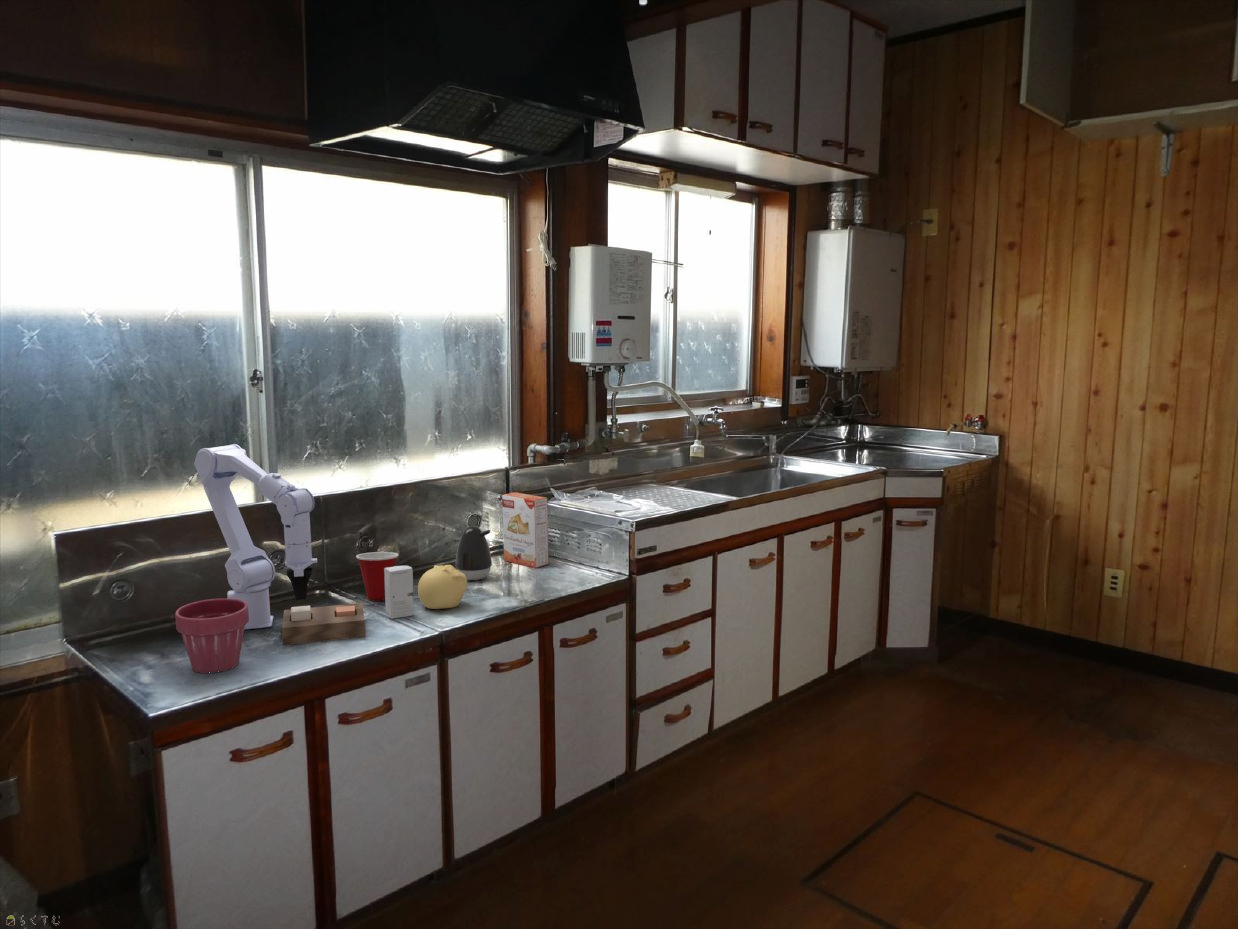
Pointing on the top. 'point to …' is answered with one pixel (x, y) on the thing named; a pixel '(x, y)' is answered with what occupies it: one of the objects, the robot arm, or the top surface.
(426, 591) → the sculpture
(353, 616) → the walnut panel
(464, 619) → the top surface
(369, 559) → the plastic cup
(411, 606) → the skincare box
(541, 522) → the cracker box
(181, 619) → the plant pot
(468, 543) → the pump dispenser
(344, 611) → the terracotta key
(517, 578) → the top surface
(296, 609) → the cream key
